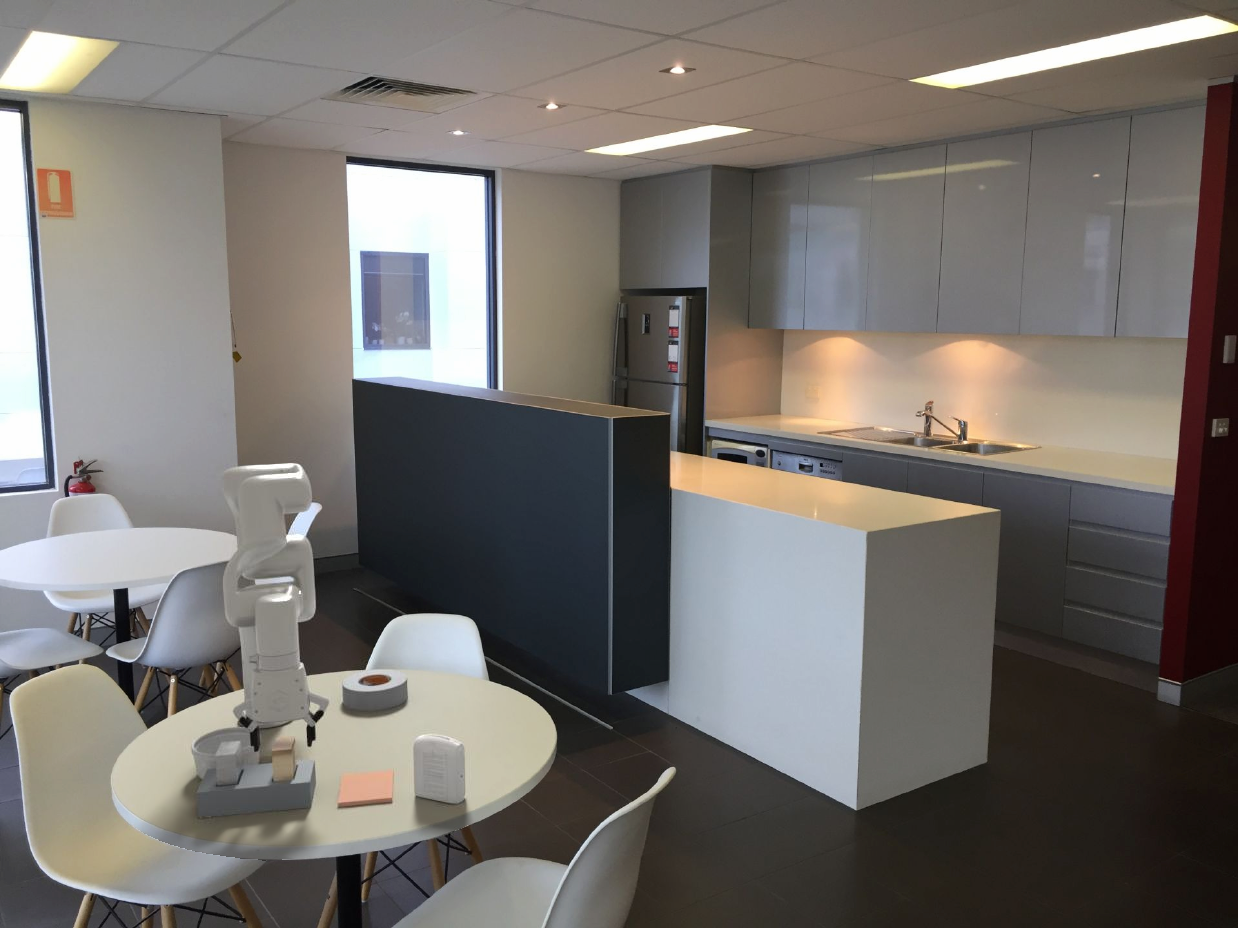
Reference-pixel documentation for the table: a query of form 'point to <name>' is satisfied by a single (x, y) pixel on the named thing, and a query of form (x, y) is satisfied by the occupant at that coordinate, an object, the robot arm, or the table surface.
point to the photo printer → (439, 768)
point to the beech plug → (284, 759)
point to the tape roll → (375, 690)
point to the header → (257, 791)
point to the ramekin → (210, 743)
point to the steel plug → (229, 763)
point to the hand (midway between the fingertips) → (283, 746)
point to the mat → (366, 788)
